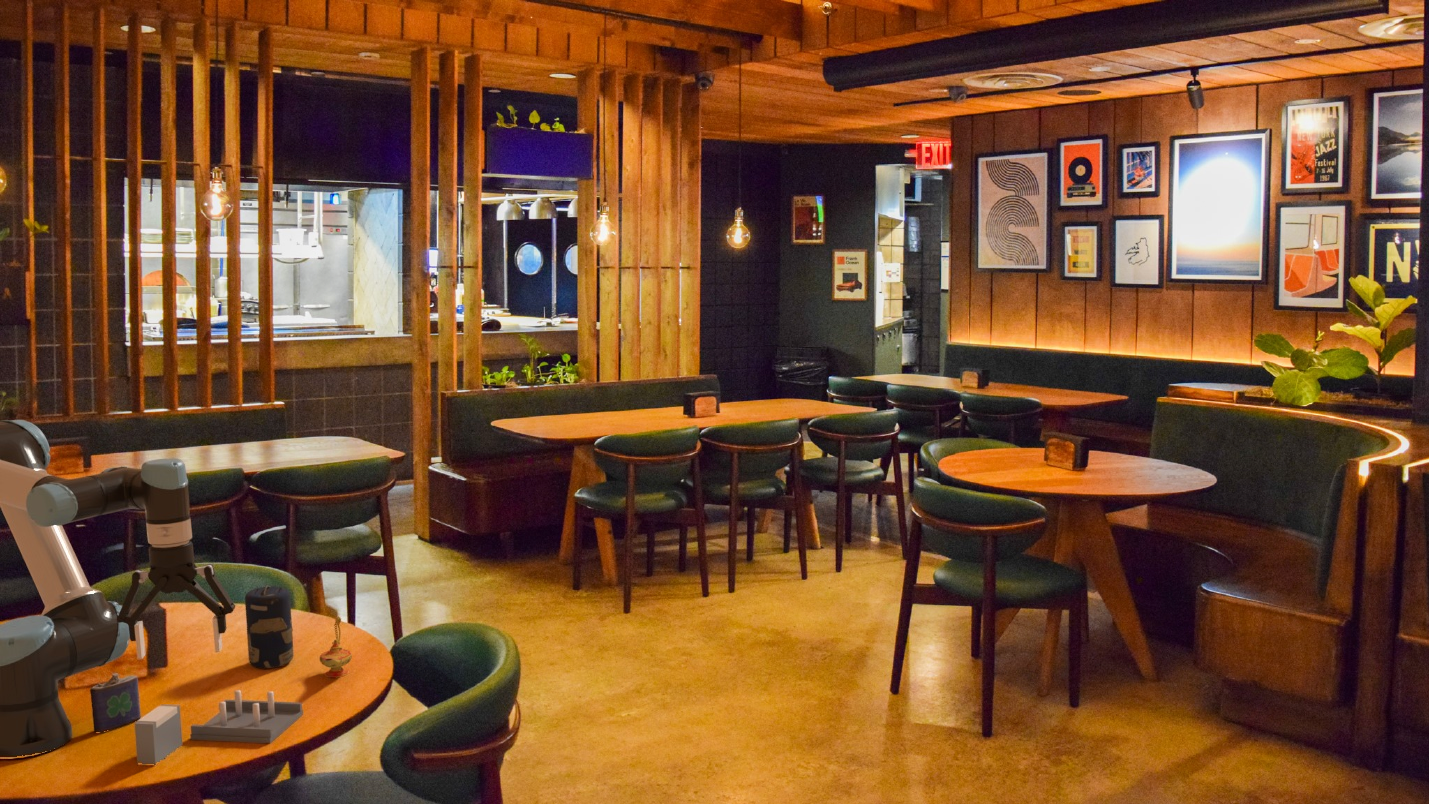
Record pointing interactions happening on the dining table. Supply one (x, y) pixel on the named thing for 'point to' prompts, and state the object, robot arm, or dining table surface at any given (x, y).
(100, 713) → the flask
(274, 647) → the canister
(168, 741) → the block
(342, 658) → the magic lamp
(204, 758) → the dining table surface
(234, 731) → the grey pegged base
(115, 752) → the dining table surface
